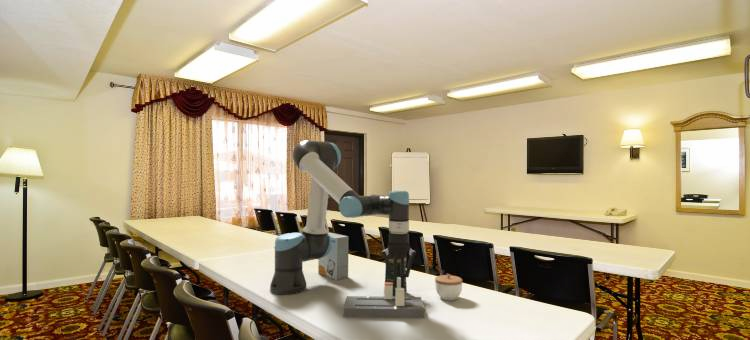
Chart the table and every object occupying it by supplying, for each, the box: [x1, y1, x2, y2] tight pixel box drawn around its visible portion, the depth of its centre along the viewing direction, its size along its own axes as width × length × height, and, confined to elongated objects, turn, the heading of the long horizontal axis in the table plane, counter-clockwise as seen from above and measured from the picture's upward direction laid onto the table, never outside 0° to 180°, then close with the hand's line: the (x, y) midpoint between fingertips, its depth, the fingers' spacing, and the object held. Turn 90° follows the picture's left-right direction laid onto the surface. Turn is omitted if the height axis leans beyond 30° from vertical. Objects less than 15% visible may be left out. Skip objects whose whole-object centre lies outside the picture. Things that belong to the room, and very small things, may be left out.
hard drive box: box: [317, 232, 349, 281], centre depth 180 cm, size 16×8×20 cm, turn 43°
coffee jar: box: [384, 251, 408, 297], centre depth 152 cm, size 10×8×19 cm
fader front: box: [395, 288, 405, 306], centre depth 128 cm, size 3×2×6 cm
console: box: [342, 295, 426, 319], centre depth 132 cm, size 28×14×3 cm, turn 89°
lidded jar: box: [434, 273, 463, 302], centre depth 146 cm, size 11×11×9 cm
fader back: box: [383, 281, 394, 299], centre depth 135 cm, size 3×2×6 cm
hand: (398, 295), depth 135 cm, fingers closed
